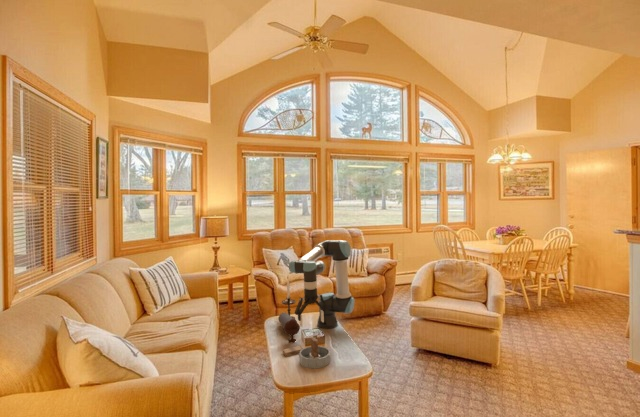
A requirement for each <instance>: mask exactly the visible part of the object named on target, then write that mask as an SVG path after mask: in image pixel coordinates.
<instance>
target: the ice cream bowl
mask: <svg viewBox="0 0 640 417" xmlns="http://www.w3.org/2000/svg"><path fill="white" fill-rule="evenodd" d="M300 329H301V326H300V323H298V321H297V320H296V318H295V319H291V320H290V321H287V322H286V324H285V326H284V328H283V330H284V332H285V333H286V334H287V335H288V336H290V338H289V339H288V341H289V342H288V343H290V342H293V343H296V342H297V341H296V340H297V338H294V336H295V335H297V334H298V333H299V331H300ZM295 341H296V342H295Z"/></svg>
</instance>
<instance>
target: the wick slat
mask: <svg viewBox="0 0 640 417" xmlns="http://www.w3.org/2000/svg"><path fill="white" fill-rule="evenodd" d="M310 346H311V355H312V356H313V357H314V358H315V357H319V355H318V346H319V340H318V339H317V338H316V337H311V338H310Z"/></svg>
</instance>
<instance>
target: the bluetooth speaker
mask: <svg viewBox="0 0 640 417" xmlns="http://www.w3.org/2000/svg"><path fill="white" fill-rule="evenodd" d="M291 319H292V317H291V314H290V315H288V312H281V313H280V314H279V315H278V322H279V324H280V326H281V327H282V329H284V326H285V324H286V322H287V321H290V320H291Z"/></svg>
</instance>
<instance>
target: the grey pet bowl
mask: <svg viewBox="0 0 640 417" xmlns="http://www.w3.org/2000/svg"><path fill="white" fill-rule="evenodd" d="M298 355H299V357H298V358H299V364H300V365H301V366H302V367H304V368H307V369H319V368H320V369H321V368H323V367H327V365H329V364H330V363H331V350H330V349H329V348H328V347H326V346H322V345H318V355H319V357H315V358H314V357H313V356H312V355H311V345H310V346H306V347H303V349H302V350H300V353H298Z"/></svg>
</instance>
